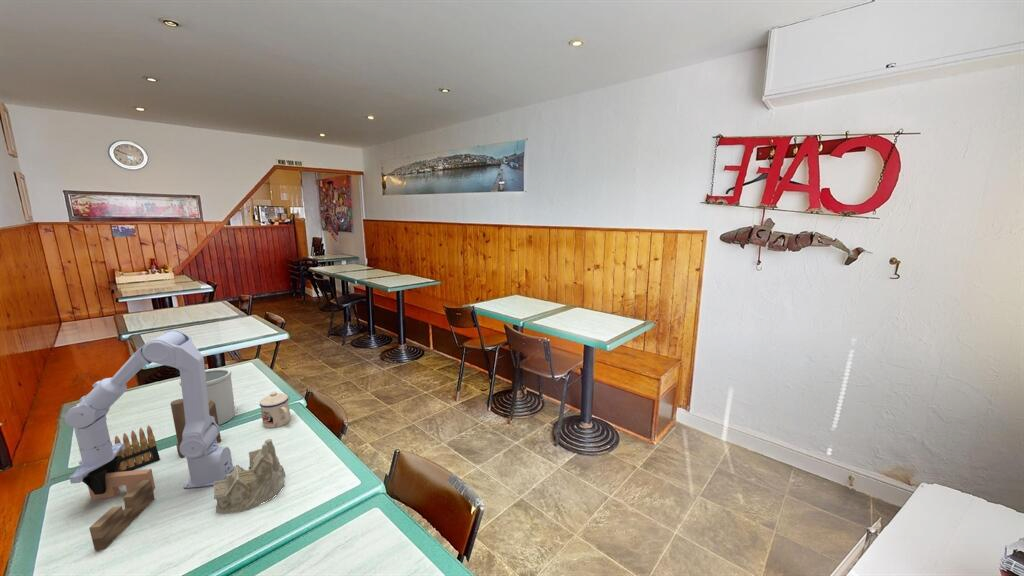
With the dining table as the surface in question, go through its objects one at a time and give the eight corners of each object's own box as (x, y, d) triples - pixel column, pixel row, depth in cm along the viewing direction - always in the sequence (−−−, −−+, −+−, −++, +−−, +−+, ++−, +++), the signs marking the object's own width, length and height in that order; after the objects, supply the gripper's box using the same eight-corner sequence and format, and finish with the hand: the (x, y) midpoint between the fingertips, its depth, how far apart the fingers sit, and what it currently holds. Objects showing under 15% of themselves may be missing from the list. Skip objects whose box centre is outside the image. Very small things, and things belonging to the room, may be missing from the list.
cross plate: (155, 487, 109) (151, 468, 108) (150, 492, 107) (146, 473, 106) (97, 493, 107) (92, 474, 106) (91, 499, 105) (86, 479, 104)
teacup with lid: (257, 424, 142) (253, 394, 139) (282, 413, 149) (278, 385, 147) (275, 433, 136) (271, 402, 133) (301, 421, 143) (297, 392, 141)
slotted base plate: (146, 500, 105) (142, 480, 104) (154, 499, 105) (150, 479, 104) (94, 550, 89) (89, 527, 88) (104, 548, 90) (99, 526, 88)
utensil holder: (198, 412, 150) (190, 370, 147) (243, 407, 154) (236, 365, 151) (179, 433, 136) (170, 386, 133) (228, 426, 141) (221, 380, 137)
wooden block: (221, 441, 131) (213, 391, 128) (181, 458, 123) (171, 405, 119) (217, 438, 133) (209, 389, 130) (177, 454, 125) (167, 402, 121)
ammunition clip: (112, 478, 113) (103, 441, 111) (110, 476, 114) (102, 438, 112) (160, 460, 122) (153, 424, 119) (158, 457, 123) (151, 422, 120)
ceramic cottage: (289, 465, 119) (280, 421, 115) (280, 503, 104) (269, 455, 100) (229, 480, 113) (217, 435, 110) (210, 524, 99) (195, 473, 95)
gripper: (100, 430, 110) (110, 473, 113) (50, 462, 96) (63, 510, 99) (129, 428, 111) (138, 470, 114) (84, 459, 97) (95, 507, 100)
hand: (105, 489), depth 106 cm, fingers open, 3 cm apart
